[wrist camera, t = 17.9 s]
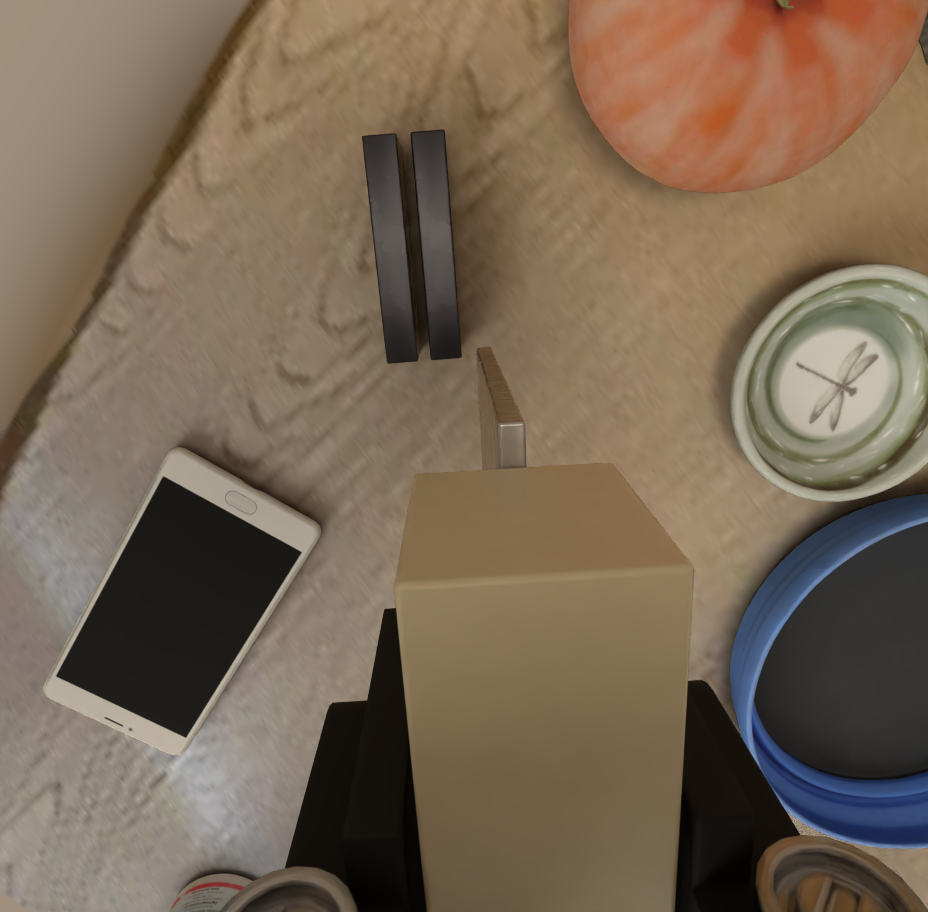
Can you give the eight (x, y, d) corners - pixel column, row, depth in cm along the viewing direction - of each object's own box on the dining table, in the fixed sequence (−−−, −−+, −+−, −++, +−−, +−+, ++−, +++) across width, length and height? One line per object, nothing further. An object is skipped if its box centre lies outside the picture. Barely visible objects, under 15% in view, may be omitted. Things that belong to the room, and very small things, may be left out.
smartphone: (325, 530, 28) (179, 761, 32) (327, 524, 29) (184, 752, 33) (169, 443, 27) (36, 695, 31) (176, 439, 28) (44, 686, 31)
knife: (455, 727, 15) (461, 1262, 7) (427, 350, 13) (384, 520, 4) (547, 721, 15) (657, 1251, 7) (539, 343, 13) (700, 501, 4)
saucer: (756, 239, 26) (786, 237, 24) (973, 291, 27) (1023, 294, 24) (682, 460, 29) (702, 478, 26) (880, 502, 29) (917, 523, 27)
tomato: (523, 174, 25) (555, 138, 17) (587, -162, 22) (659, -387, 14) (786, 226, 26) (926, 213, 18) (883, -94, 23) (1103, -272, 15)
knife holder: (392, 354, 27) (387, 364, 25) (370, 147, 25) (361, 135, 22) (460, 348, 27) (461, 358, 25) (445, 141, 25) (444, 129, 22)
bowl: (1002, 804, 35) (1061, 863, 32) (681, 778, 34) (707, 836, 31) (1142, 498, 30) (1232, 530, 26) (767, 458, 29) (809, 485, 25)
